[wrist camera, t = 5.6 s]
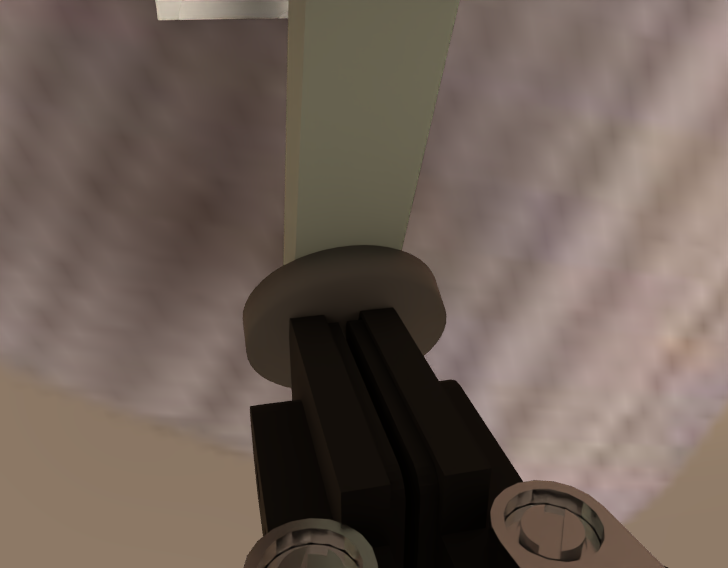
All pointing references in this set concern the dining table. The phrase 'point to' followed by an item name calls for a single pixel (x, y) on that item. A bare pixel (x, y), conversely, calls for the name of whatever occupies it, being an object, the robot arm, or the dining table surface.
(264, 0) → the pivot stand
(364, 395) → the robot arm
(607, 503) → the dining table surface
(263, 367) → the lever
